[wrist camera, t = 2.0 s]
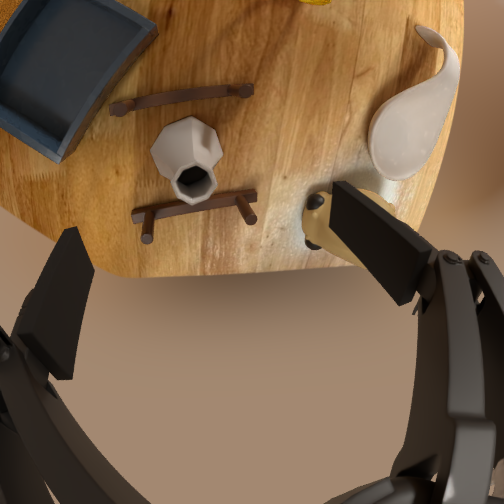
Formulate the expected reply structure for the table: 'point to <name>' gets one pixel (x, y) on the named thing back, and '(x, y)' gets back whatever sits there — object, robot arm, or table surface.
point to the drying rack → (181, 207)
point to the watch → (316, 2)
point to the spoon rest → (414, 117)
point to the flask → (188, 158)
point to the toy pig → (318, 225)
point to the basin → (64, 67)
